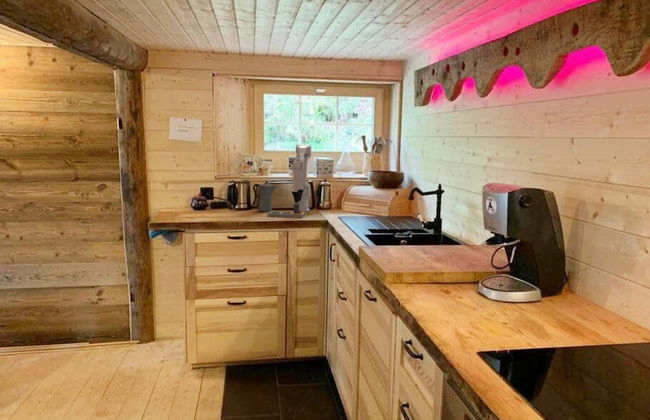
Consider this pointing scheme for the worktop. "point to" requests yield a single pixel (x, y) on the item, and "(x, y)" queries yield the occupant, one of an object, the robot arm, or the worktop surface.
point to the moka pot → (265, 196)
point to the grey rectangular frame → (285, 214)
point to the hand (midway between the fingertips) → (297, 201)
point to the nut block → (297, 208)
